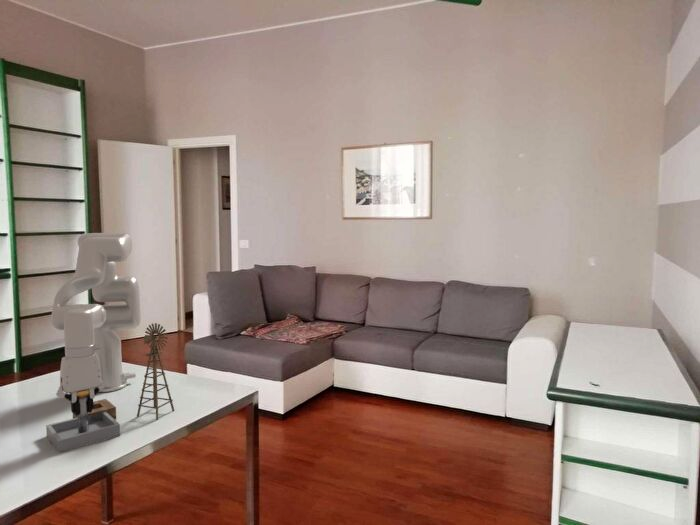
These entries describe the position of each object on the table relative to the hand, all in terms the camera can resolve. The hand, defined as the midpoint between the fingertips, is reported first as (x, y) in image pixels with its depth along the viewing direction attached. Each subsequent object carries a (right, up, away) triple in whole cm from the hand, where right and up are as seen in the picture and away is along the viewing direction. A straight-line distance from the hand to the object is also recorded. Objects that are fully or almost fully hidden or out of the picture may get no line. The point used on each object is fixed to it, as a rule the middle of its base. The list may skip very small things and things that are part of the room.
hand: (82, 412), depth 141 cm
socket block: (-3, -6, +13) cm, 14 cm away
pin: (0, -6, 0) cm, 6 cm away
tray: (0, -7, 0) cm, 7 cm away
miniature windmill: (+15, -6, +17) cm, 23 cm away
